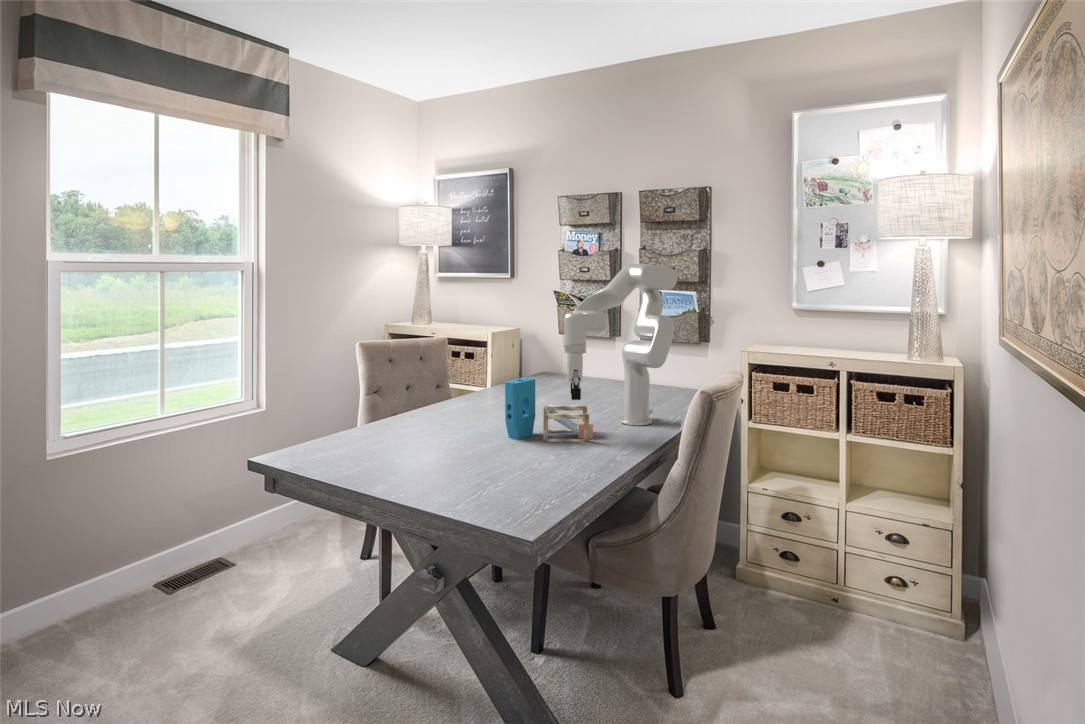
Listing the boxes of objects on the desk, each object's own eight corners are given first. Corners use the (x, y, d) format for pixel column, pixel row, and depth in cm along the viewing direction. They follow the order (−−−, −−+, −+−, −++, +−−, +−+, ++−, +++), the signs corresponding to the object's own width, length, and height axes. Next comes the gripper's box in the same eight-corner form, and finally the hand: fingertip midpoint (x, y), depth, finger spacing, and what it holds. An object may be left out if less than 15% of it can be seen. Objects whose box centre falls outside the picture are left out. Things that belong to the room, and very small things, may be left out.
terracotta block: (577, 434, 228) (591, 434, 228) (578, 438, 223) (592, 438, 223) (578, 421, 227) (592, 421, 227) (578, 424, 222) (593, 424, 222)
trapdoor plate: (575, 426, 230) (577, 423, 230) (576, 433, 220) (579, 430, 220) (548, 409, 230) (551, 406, 229) (548, 416, 219) (550, 412, 219)
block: (515, 440, 220) (514, 383, 217) (504, 438, 223) (503, 381, 220) (536, 433, 229) (536, 378, 226) (525, 431, 232) (525, 377, 229)
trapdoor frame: (586, 431, 233) (586, 405, 231) (588, 441, 218) (589, 414, 217) (544, 430, 233) (544, 405, 231) (543, 441, 218) (543, 414, 217)
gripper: (564, 345, 230) (564, 391, 232) (564, 352, 213) (565, 402, 215) (584, 345, 230) (585, 391, 232) (587, 351, 212) (587, 402, 215)
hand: (575, 396), depth 224 cm, fingers open, 9 cm apart
